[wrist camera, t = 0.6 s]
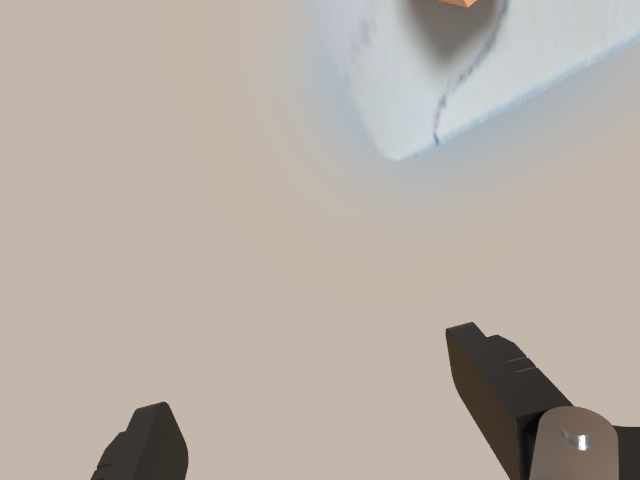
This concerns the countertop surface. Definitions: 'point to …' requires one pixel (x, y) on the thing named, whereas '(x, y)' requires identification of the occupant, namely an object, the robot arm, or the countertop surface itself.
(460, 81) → the countertop surface
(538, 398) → the robot arm
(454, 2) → the block
